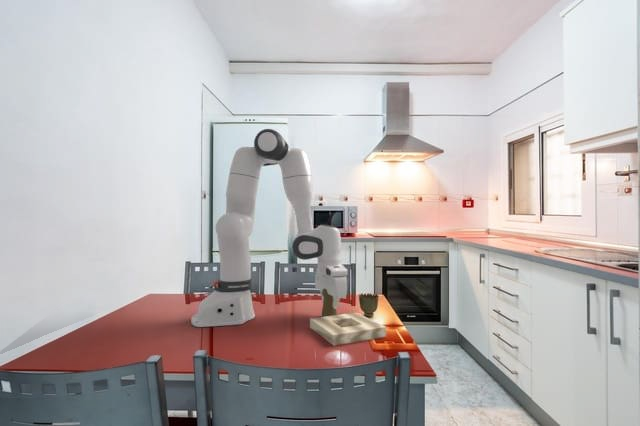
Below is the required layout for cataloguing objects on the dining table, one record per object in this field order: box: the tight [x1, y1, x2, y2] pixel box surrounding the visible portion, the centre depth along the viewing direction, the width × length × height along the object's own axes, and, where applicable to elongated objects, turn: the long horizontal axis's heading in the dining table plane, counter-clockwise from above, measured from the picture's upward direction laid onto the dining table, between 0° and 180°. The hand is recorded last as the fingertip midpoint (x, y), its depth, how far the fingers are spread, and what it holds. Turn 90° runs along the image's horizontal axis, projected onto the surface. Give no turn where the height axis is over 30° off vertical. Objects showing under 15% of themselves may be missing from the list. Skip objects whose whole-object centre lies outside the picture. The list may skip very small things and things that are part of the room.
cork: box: [320, 288, 338, 317], centre depth 124 cm, size 6×6×11 cm
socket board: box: [309, 312, 387, 346], centre depth 108 cm, size 18×18×3 cm
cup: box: [358, 292, 379, 318], centre depth 125 cm, size 8×7×8 cm
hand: (329, 305), depth 124 cm, fingers open, 8 cm apart
